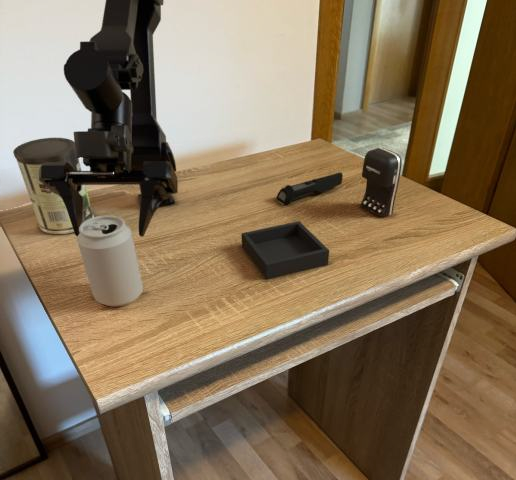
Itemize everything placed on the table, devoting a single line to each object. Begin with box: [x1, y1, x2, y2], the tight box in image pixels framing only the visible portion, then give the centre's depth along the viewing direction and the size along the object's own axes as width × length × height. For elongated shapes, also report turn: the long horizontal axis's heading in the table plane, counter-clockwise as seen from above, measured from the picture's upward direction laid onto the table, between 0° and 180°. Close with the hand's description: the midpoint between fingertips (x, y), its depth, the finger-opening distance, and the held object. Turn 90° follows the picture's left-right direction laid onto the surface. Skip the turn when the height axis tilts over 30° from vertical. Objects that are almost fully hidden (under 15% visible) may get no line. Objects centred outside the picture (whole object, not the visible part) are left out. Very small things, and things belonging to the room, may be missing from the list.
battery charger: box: [360, 147, 403, 217], centre depth 91 cm, size 7×4×11 cm, turn 32°
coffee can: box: [12, 137, 95, 235], centre depth 89 cm, size 10×10×14 cm
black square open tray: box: [240, 220, 330, 280], centre depth 82 cm, size 11×11×3 cm
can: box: [76, 214, 144, 308], centre depth 71 cm, size 8×8×12 cm
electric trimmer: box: [276, 172, 344, 206], centre depth 100 cm, size 4×16×3 cm, turn 122°
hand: (109, 236), depth 70 cm, fingers open, 9 cm apart
